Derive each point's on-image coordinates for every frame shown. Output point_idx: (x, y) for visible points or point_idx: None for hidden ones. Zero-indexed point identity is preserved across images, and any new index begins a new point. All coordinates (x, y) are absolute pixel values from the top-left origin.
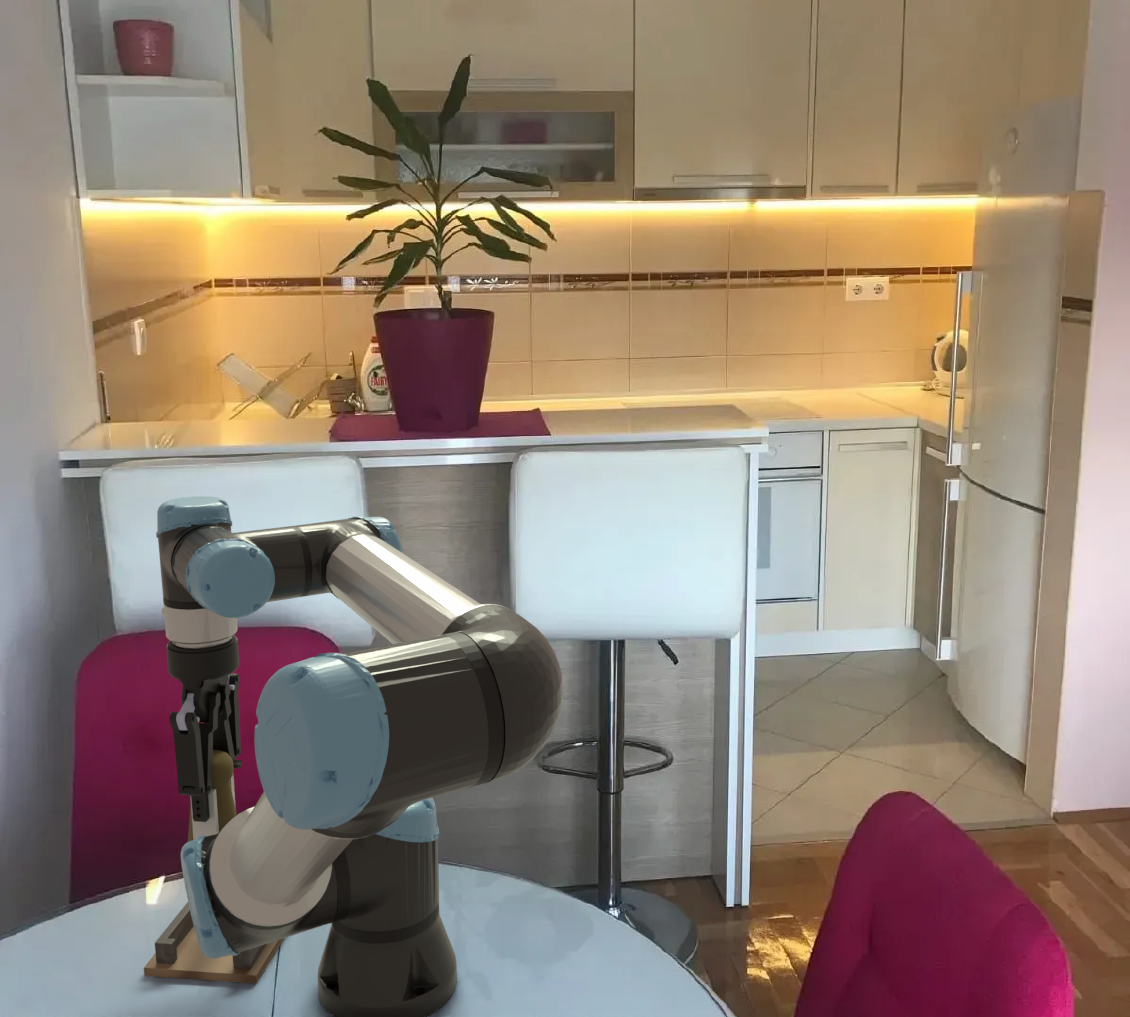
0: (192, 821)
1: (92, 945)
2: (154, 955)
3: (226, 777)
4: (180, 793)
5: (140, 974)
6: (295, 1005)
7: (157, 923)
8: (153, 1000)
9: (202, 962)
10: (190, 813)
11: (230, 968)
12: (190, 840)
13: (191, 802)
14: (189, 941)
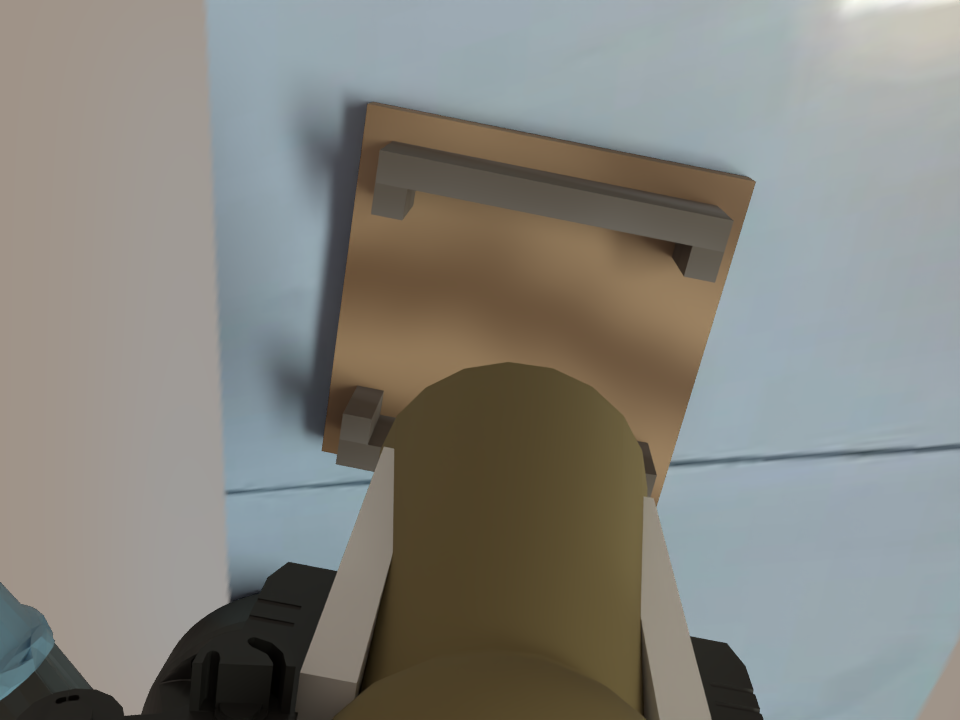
0: (357, 523)
1: None
2: (436, 122)
3: None
4: (35, 712)
5: (382, 85)
6: (238, 540)
7: (692, 57)
8: (249, 167)
9: (389, 290)
10: (444, 503)
11: (355, 377)
12: (418, 427)
13: (323, 611)
14: (511, 222)
